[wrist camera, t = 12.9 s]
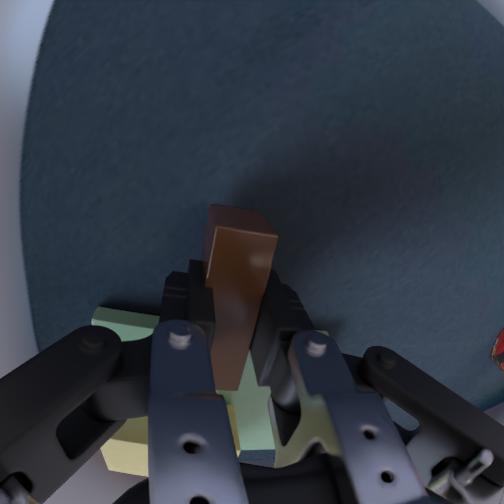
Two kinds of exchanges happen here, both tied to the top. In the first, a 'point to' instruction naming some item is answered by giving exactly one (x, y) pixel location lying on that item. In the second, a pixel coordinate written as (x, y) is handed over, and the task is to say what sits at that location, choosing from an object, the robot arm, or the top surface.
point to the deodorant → (499, 352)
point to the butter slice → (234, 427)
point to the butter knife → (235, 284)
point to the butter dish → (240, 398)
